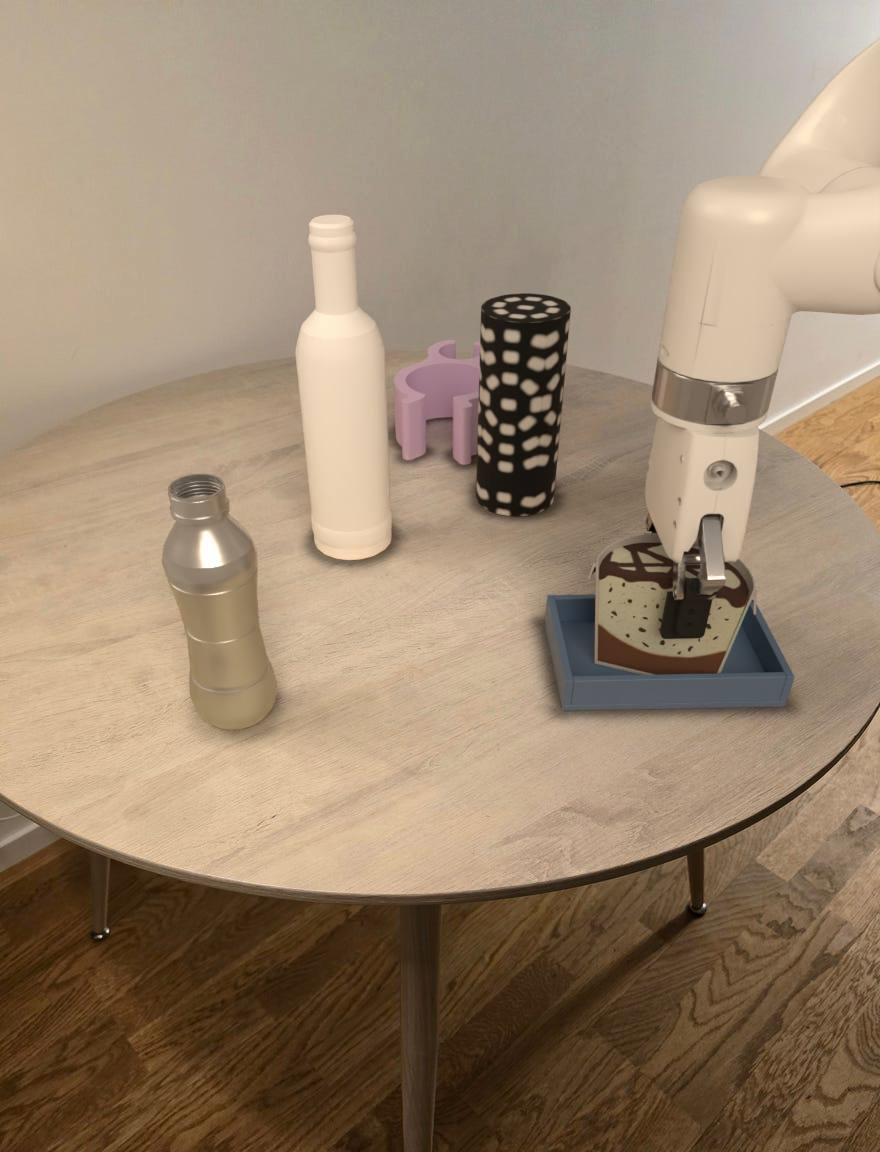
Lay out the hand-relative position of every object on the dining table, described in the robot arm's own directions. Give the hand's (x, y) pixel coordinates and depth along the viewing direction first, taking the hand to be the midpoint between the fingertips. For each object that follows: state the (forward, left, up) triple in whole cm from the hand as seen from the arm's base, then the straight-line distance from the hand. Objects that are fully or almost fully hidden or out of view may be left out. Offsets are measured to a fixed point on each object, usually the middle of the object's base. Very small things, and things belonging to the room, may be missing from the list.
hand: (668, 603), depth 70 cm
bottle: (+26, -20, -6) cm, 33 cm away
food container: (0, 0, -6) cm, 6 cm away
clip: (+15, -46, -6) cm, 49 cm away
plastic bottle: (+34, +5, -6) cm, 35 cm away
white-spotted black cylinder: (+9, -28, -6) cm, 30 cm away
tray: (0, 0, -6) cm, 6 cm away
